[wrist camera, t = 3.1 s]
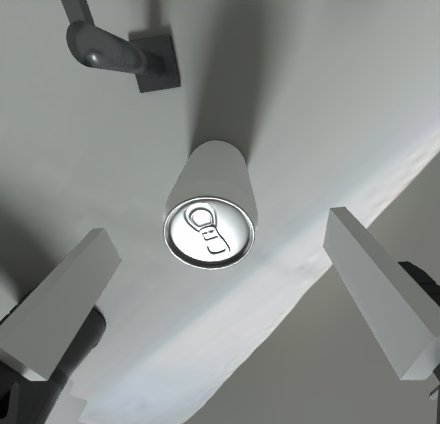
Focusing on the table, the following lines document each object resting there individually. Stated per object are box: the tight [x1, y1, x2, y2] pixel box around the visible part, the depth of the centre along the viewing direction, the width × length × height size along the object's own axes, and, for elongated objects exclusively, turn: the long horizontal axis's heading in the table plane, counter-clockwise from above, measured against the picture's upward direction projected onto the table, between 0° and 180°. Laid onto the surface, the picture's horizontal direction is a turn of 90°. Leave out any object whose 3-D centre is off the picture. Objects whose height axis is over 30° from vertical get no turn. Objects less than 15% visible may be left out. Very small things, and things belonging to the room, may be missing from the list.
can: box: [163, 140, 258, 269], centre depth 17 cm, size 6×6×12 cm
